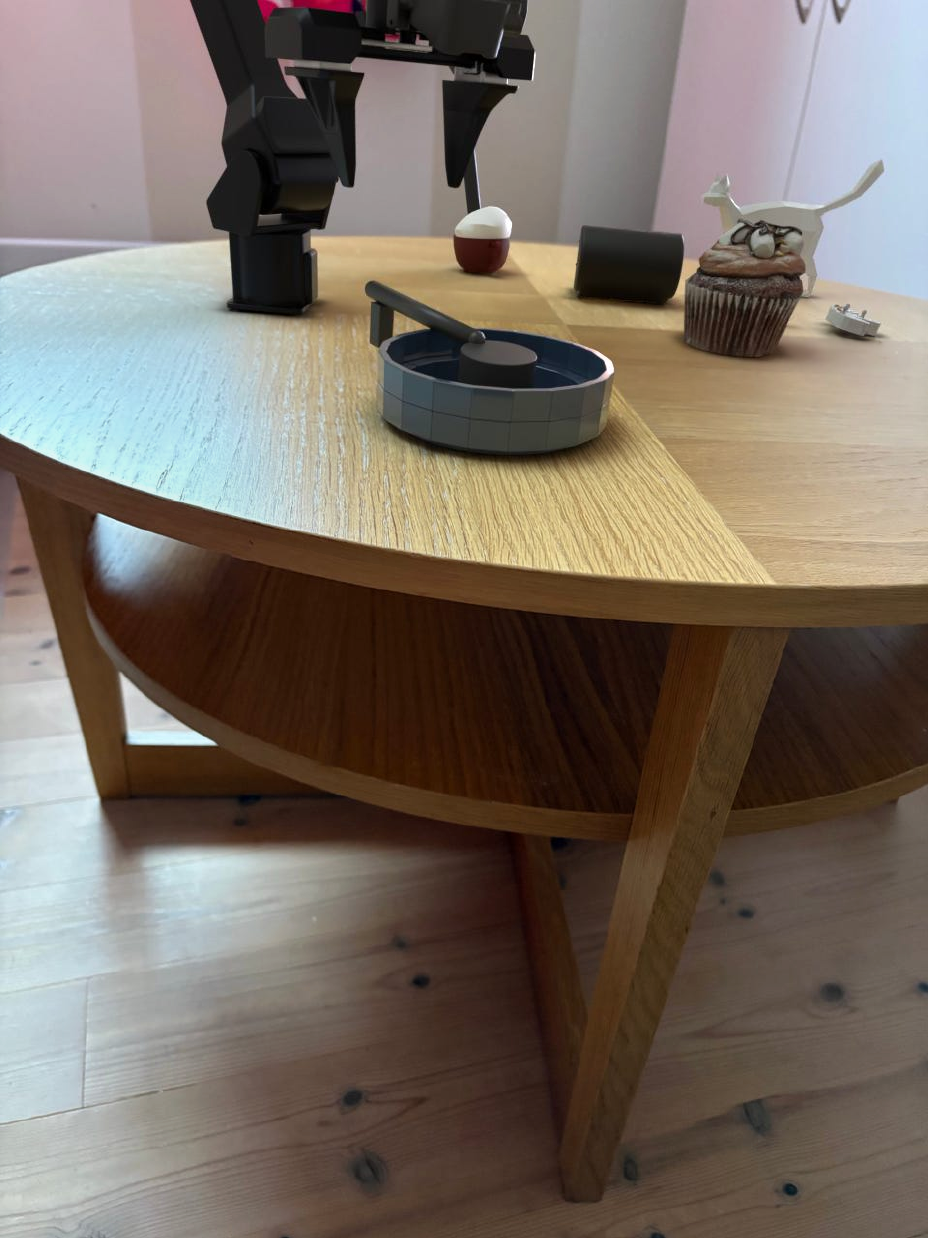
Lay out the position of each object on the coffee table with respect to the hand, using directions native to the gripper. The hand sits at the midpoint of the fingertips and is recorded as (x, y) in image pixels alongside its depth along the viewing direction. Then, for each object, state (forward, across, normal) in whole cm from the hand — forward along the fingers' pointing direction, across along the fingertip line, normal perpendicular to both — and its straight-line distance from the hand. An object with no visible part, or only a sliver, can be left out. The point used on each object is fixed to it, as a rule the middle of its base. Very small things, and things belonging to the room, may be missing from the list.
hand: (402, 187), depth 65 cm
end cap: (+11, +31, +6) cm, 33 cm away
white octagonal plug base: (+11, +41, -10) cm, 44 cm away
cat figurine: (+11, +52, +3) cm, 54 cm away
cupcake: (+11, +27, -12) cm, 31 cm away
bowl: (+11, -5, -19) cm, 23 cm away
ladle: (+10, -5, -13) cm, 17 cm away
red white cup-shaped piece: (+11, +26, +23) cm, 36 cm away
